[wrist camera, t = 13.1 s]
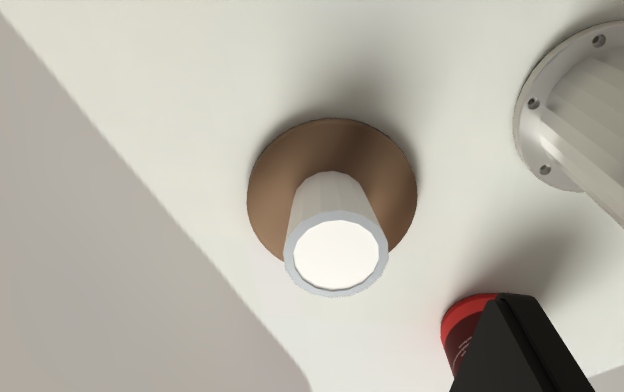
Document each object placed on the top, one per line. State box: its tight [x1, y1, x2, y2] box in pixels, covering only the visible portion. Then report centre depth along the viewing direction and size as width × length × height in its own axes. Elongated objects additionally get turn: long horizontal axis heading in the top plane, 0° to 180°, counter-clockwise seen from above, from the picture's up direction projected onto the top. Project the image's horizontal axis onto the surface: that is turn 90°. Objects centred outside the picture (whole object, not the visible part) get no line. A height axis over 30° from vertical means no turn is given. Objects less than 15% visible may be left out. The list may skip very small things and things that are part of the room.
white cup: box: [283, 171, 389, 298], centre depth 36 cm, size 7×7×7 cm
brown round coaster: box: [247, 118, 417, 262], centre depth 40 cm, size 13×13×1 cm
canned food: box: [441, 294, 497, 379], centre depth 42 cm, size 8×8×11 cm
